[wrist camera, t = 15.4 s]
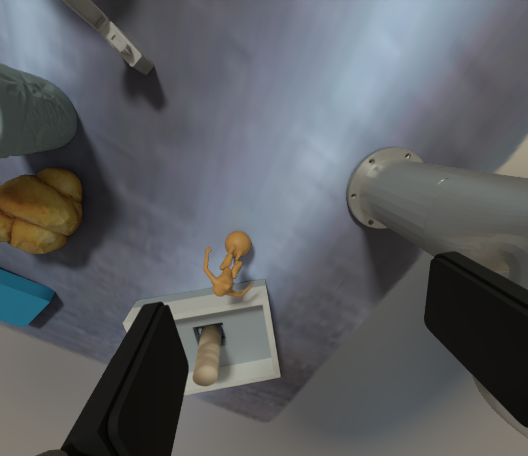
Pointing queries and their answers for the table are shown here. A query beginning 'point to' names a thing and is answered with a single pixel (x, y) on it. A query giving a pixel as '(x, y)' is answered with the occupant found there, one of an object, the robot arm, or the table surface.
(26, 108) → the green cup
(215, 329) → the peg
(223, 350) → the tray
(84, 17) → the lighter
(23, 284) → the lever
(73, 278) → the table surface
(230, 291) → the figurine
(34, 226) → the bread roll
